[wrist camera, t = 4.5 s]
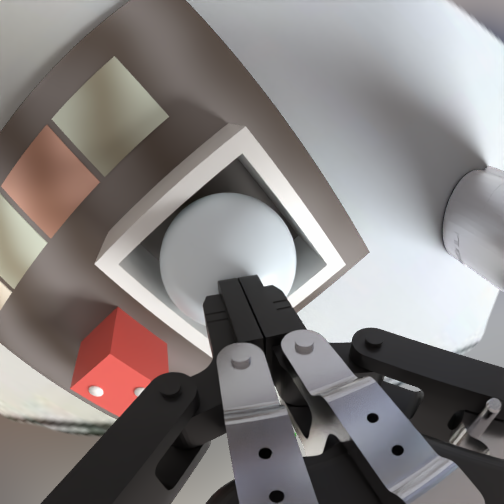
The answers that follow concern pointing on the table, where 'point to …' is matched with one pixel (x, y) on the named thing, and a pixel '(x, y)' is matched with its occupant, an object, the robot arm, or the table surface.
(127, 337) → the die
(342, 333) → the table surface
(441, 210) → the table surface
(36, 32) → the table surface
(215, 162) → the housing
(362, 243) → the board
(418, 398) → the robot arm
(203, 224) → the white ball
